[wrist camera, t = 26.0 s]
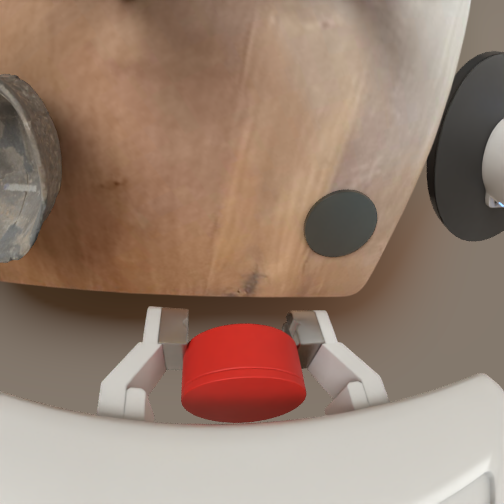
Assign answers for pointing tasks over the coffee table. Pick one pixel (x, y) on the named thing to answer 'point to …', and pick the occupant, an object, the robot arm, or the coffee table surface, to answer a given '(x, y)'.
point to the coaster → (340, 223)
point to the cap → (242, 374)
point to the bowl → (25, 166)
